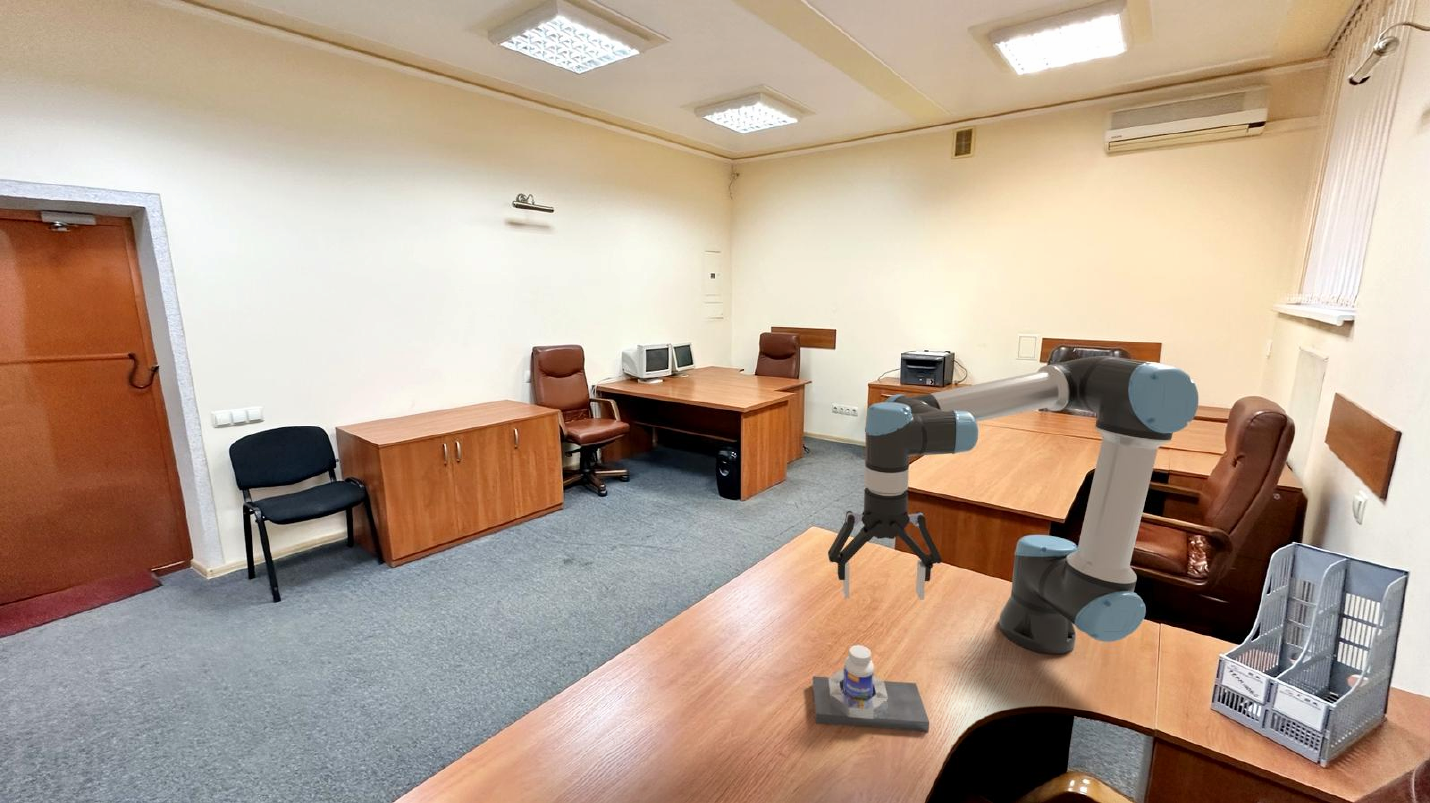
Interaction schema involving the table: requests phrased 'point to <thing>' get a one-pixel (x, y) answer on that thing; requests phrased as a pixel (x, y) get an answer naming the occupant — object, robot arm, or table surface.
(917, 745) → the table surface
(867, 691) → the pill bottle
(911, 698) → the hub plate
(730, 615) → the table surface
